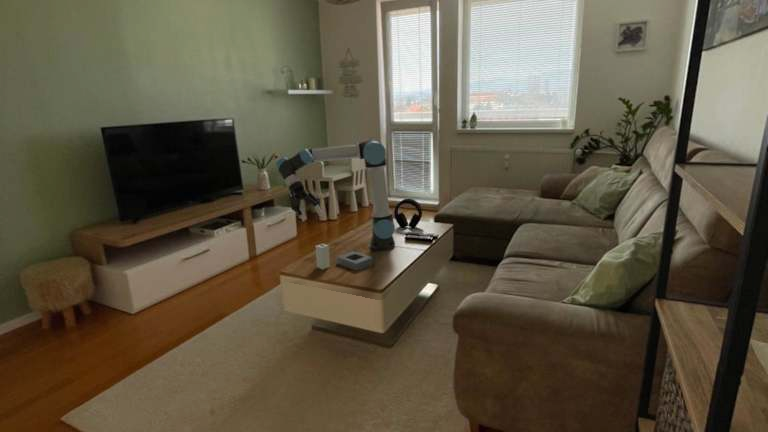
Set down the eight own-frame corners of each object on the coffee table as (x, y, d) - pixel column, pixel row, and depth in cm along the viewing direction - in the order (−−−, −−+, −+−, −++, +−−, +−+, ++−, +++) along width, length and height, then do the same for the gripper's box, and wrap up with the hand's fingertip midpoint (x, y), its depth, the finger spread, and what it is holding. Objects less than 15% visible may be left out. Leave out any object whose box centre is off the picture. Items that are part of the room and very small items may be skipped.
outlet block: (336, 263, 232) (336, 256, 231) (353, 257, 240) (353, 251, 239) (356, 270, 221) (356, 263, 220) (373, 264, 229) (373, 257, 228)
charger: (316, 267, 227) (315, 245, 224) (324, 264, 231) (322, 243, 227) (322, 269, 224) (321, 247, 221) (330, 266, 227) (328, 245, 224)
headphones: (394, 228, 295) (393, 200, 290) (396, 225, 301) (396, 198, 296) (420, 229, 290) (420, 201, 285) (422, 227, 296) (422, 199, 291)
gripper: (306, 186, 239) (324, 218, 235) (273, 190, 218) (293, 225, 215) (314, 178, 235) (332, 211, 232) (281, 182, 214) (301, 218, 211)
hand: (313, 218), depth 223 cm, fingers open, 13 cm apart
